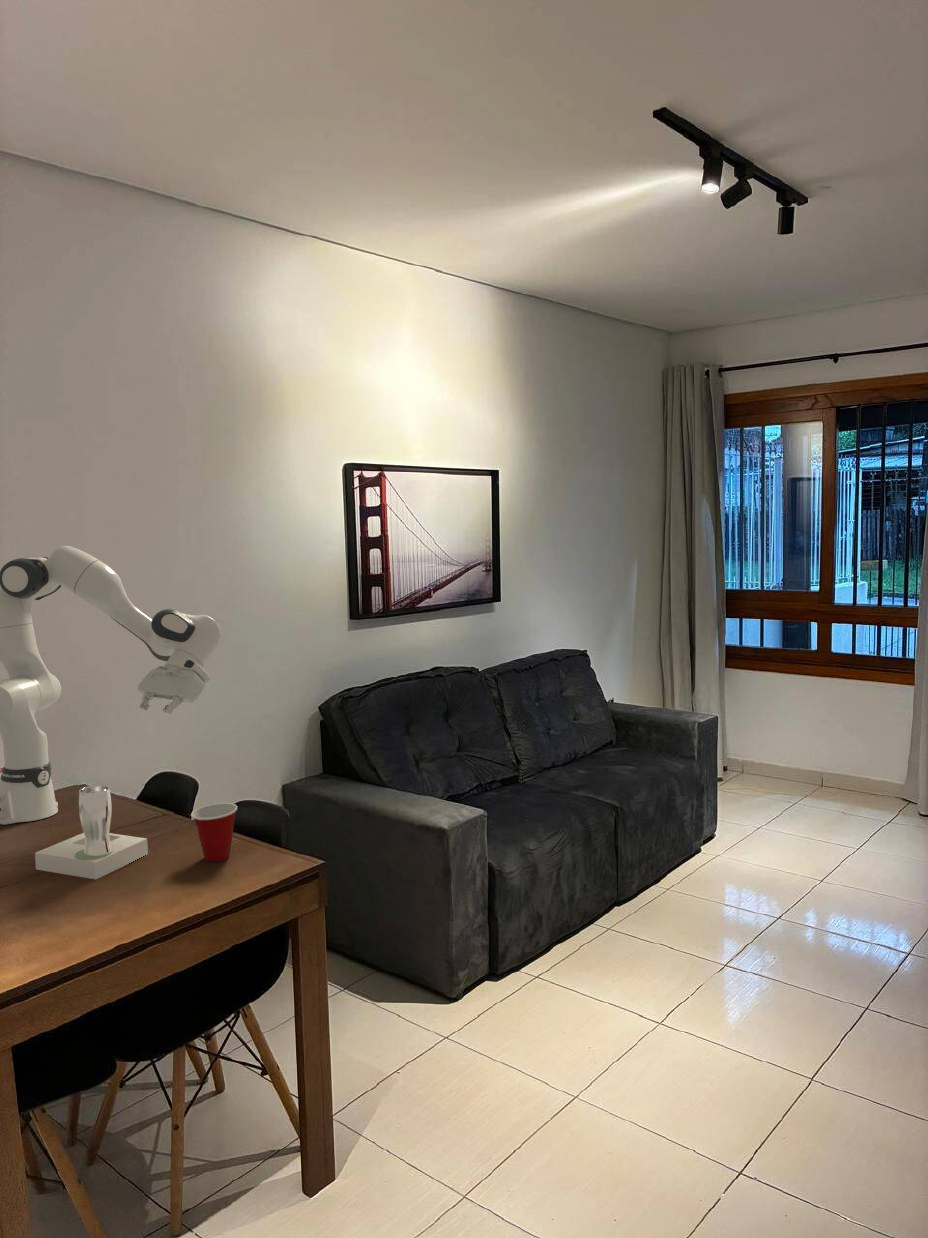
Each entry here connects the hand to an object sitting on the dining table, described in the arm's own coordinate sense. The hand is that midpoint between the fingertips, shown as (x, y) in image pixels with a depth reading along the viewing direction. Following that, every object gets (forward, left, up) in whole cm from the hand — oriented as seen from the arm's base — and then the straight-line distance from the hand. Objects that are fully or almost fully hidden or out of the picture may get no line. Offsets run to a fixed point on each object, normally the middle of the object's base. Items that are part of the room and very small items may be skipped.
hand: (154, 710), depth 242 cm
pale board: (+2, -26, -31) cm, 41 cm away
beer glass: (+8, -30, -27) cm, 41 cm away
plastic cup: (+28, -13, -32) cm, 44 cm away
